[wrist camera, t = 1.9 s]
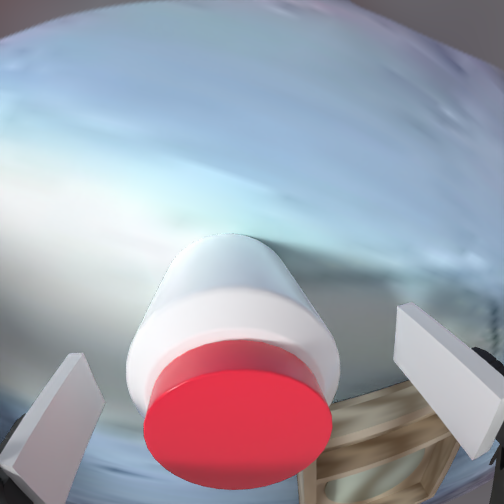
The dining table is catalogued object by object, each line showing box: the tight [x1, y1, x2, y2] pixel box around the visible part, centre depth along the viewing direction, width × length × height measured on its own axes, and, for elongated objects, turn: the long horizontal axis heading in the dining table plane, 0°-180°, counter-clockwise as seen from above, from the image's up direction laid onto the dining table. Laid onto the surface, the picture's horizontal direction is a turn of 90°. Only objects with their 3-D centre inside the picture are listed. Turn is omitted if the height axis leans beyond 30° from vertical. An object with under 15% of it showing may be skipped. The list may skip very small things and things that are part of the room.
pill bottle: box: [126, 233, 341, 490], centre depth 13 cm, size 8×8×11 cm
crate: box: [297, 380, 460, 504], centre depth 22 cm, size 16×20×4 cm
